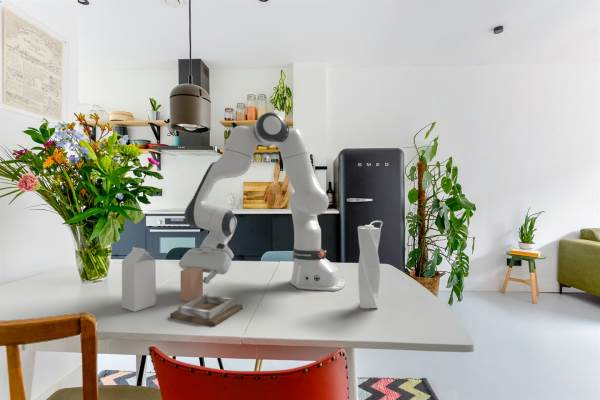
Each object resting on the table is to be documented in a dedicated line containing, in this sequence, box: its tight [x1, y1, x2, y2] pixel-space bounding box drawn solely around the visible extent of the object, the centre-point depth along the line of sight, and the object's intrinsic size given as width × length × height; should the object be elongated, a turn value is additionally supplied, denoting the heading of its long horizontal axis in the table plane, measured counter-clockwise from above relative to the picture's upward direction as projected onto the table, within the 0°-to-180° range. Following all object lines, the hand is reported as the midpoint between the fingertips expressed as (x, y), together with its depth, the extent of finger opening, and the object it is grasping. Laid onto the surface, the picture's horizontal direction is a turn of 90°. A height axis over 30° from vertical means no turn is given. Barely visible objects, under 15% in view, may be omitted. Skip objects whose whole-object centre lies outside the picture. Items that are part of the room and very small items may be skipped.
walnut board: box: [169, 293, 244, 327], centre depth 93 cm, size 16×14×3 cm
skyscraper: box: [357, 219, 384, 310], centre depth 100 cm, size 8×8×28 cm
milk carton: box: [121, 246, 157, 312], centre depth 98 cm, size 7×7×19 cm
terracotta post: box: [180, 267, 204, 302], centre depth 107 cm, size 4×6×10 cm
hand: (194, 281), depth 108 cm, fingers open, 8 cm apart
